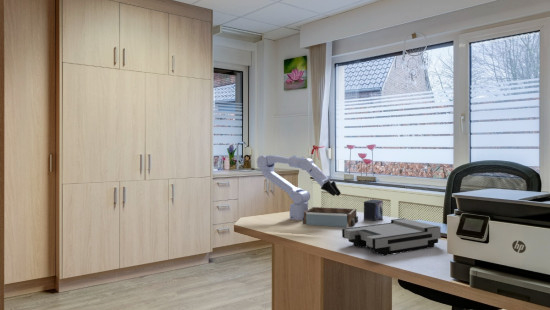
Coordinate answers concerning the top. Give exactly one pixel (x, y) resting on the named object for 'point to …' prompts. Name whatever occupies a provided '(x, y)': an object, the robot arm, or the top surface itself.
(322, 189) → the robot arm
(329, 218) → the tailgate
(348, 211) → the cart bed
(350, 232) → the game console
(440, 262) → the top surface
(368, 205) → the small box
